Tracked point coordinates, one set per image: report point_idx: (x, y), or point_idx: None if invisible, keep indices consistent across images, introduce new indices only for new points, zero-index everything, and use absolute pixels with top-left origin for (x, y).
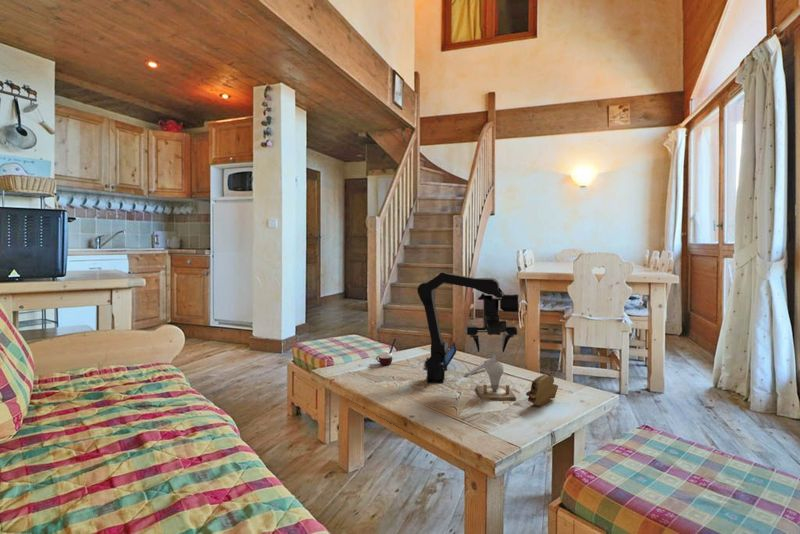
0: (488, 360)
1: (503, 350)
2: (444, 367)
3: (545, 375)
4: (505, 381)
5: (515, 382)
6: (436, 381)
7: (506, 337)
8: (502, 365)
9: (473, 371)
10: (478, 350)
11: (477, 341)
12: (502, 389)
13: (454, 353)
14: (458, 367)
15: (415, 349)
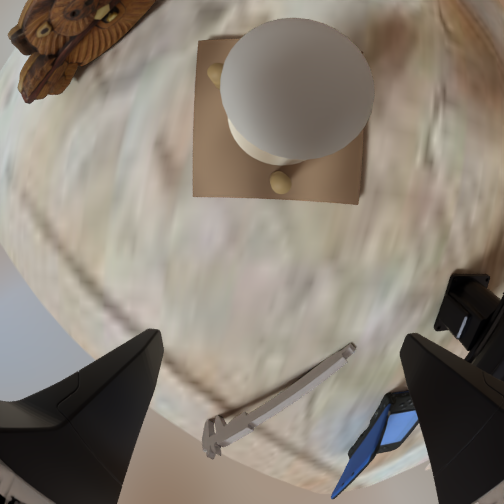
0: (234, 433)
1: (144, 336)
2: (395, 400)
3: (33, 1)
4: (190, 288)
5: (150, 273)
6: (470, 276)
7: (3, 420)
8: (226, 68)
9: (312, 377)
10: (425, 340)
11: (496, 392)
12: (236, 131)
13: (380, 443)
14: (336, 418)
15: (379, 480)
